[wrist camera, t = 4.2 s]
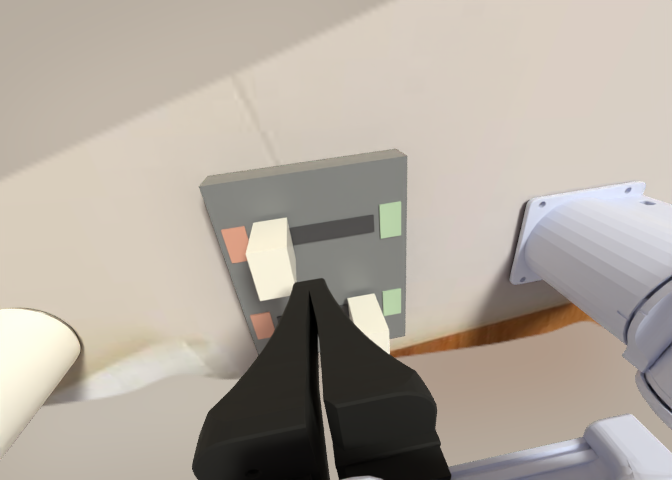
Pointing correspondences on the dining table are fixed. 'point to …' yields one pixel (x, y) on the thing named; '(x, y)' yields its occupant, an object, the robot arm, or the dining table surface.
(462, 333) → the dining table surface
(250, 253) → the block
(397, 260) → the panel
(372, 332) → the block
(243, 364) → the dining table surface
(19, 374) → the can
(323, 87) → the dining table surface
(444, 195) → the dining table surface
